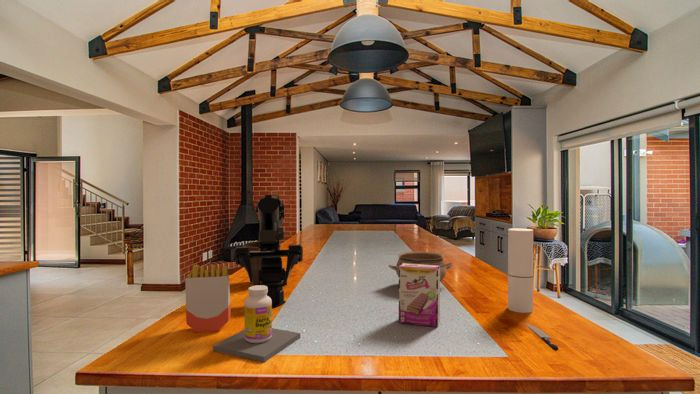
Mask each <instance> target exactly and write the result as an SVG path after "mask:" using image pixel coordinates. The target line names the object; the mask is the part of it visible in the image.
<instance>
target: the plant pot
mask: <svg viewBox="0 0 700 394" xmlns="http://www.w3.org/2000/svg"><path fill="white" fill-rule="evenodd" d="M281 244H282V243H281V242H280V241H279V250H281ZM242 247H249V249H250V251H259V248H258V241H252V242H246V243H244V244H242ZM250 261H251V267H252V278H253V282H252V285H253V286H256V285H259V278H258V271H259V269H261V262H262V258H251V260H250Z"/></svg>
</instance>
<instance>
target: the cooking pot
mask: <svg viewBox="0 0 700 394" xmlns="http://www.w3.org/2000/svg"><path fill="white" fill-rule="evenodd" d="M397 257H398V259H397V262H396V265H392V264H389V265H388V267H389V269H392V270H393V271H395V272H396V274H397V275H396V276H397V277H398V278H399V266H400V265H401V264H402V263H408V264H421V265H436V266H440V283H441V282H442V281H443V280H444V278H445V277H446V274H447V270H448V269H450V268H452V267H453V263H452V262H448V263H445V261H444V259H443V258H444V257H445V255H444V254H442V253H438V252H433V251H418V250H417V251H416V250H415V251H405V252H400V253H398V254H397Z"/></svg>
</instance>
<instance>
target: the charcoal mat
mask: <svg viewBox="0 0 700 394" xmlns="http://www.w3.org/2000/svg"><path fill="white" fill-rule="evenodd" d="M299 339H301V332H297V331H291V330H284V329H280V328H279V329H278V328H274V327H272V337H271V339H269V340H268V341H266V342H262V343H250V342H247V341H246V340H245V328H244V329H243V330H241V331H239V332H237V333H235V334H233V335H231V336H229V337H227V338H225V339H224V340H221V341H220V342H217V343H216V344H214V345H212V351H213V352H218V353H221V354H225V355H231V356H235V357H240V358H243V359H249V360H253V361H256V362H257V361H258V362H262V363H265V362H267V361H269V360H270V359H271V358H273V357H274V356H276V355H277V354H278V353H280V352H282V351H284V350H285V349H286V348H287V347H289V346H290V345H292V344H293V343H294V342H296V341H298V340H299Z"/></svg>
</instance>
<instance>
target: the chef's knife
mask: <svg viewBox="0 0 700 394" xmlns="http://www.w3.org/2000/svg"><path fill="white" fill-rule="evenodd" d="M524 325H525V326H526V327H528V328H529V329H530V330H531V331H532V332H533V333H534V334H536V336H538V337H539V338H540V339H541V340H542V341H544V342H545V343H546V344H547V345H548V346H550V348H552V349H553V350H556V351H557V350H558V349H559V346H558V345H556V344H554V343H553V342H552V341H550V340H551V339H552V337H551V336H550V335H548V334H547V333H545V332H544V331H543V330H542V329H540V328H538V327H537V326H534V325H532V324H529V323H527V322H525V323H524ZM549 339H550V340H549Z"/></svg>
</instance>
